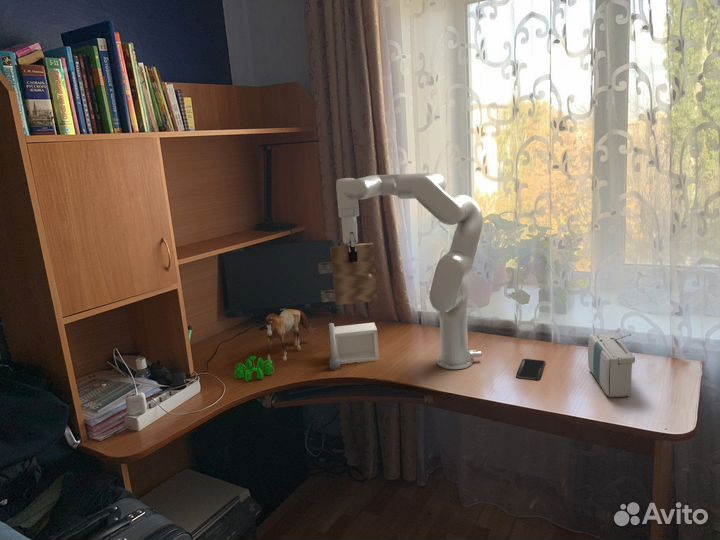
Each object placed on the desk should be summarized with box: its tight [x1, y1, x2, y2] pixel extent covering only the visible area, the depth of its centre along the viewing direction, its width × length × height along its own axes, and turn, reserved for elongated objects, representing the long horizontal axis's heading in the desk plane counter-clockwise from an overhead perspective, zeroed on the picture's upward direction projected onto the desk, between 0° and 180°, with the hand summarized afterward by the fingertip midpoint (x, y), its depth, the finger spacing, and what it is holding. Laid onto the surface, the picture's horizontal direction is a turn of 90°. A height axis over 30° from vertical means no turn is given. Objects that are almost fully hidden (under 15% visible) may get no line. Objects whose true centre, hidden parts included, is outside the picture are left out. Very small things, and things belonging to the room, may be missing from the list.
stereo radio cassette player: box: [587, 333, 636, 398], centre depth 179 cm, size 21×8×20 cm, turn 174°
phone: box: [515, 358, 546, 381], centre depth 195 cm, size 8×1×15 cm
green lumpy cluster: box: [233, 355, 275, 383], centre depth 209 cm, size 15×15×7 cm
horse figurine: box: [264, 308, 317, 365], centre depth 223 cm, size 31×8×21 cm, turn 153°
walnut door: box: [317, 242, 378, 306], centre depth 217 cm, size 21×5×22 cm, turn 96°
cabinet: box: [328, 322, 380, 371], centre depth 212 cm, size 18×13×17 cm
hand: (352, 260), depth 216 cm, fingers closed on walnut door, 3 cm apart
